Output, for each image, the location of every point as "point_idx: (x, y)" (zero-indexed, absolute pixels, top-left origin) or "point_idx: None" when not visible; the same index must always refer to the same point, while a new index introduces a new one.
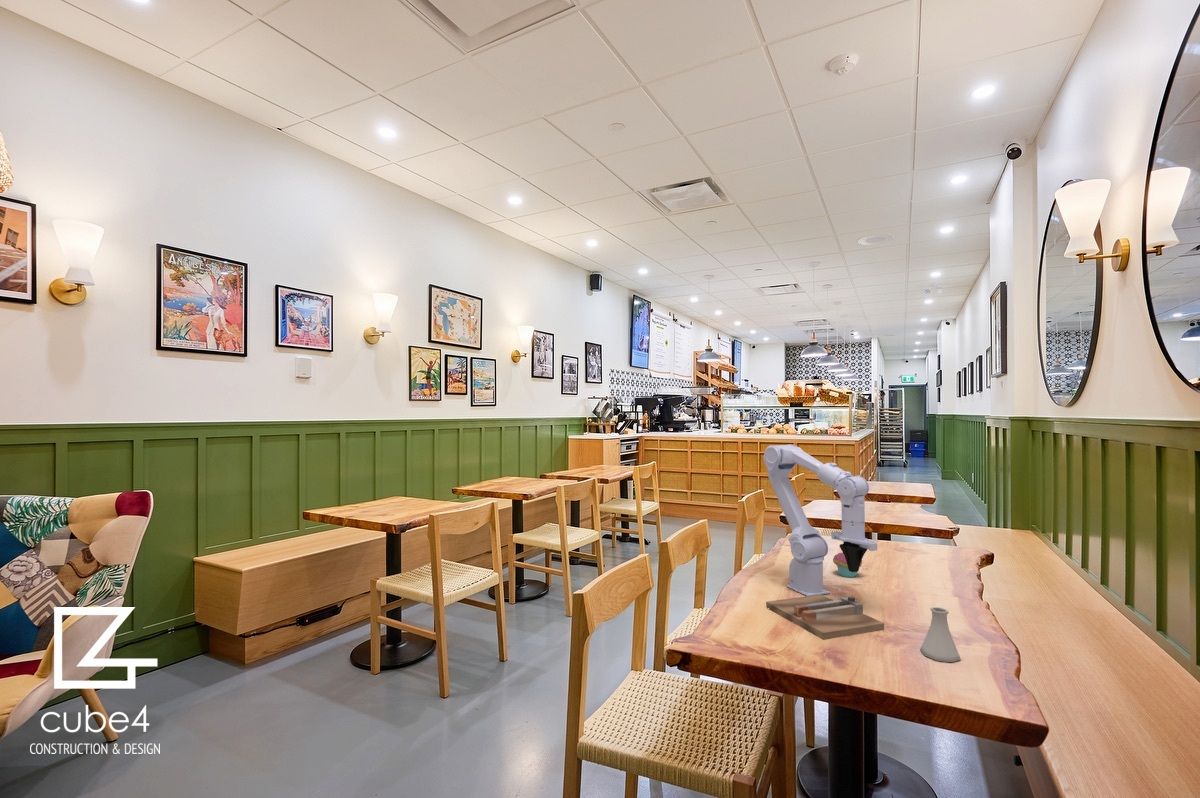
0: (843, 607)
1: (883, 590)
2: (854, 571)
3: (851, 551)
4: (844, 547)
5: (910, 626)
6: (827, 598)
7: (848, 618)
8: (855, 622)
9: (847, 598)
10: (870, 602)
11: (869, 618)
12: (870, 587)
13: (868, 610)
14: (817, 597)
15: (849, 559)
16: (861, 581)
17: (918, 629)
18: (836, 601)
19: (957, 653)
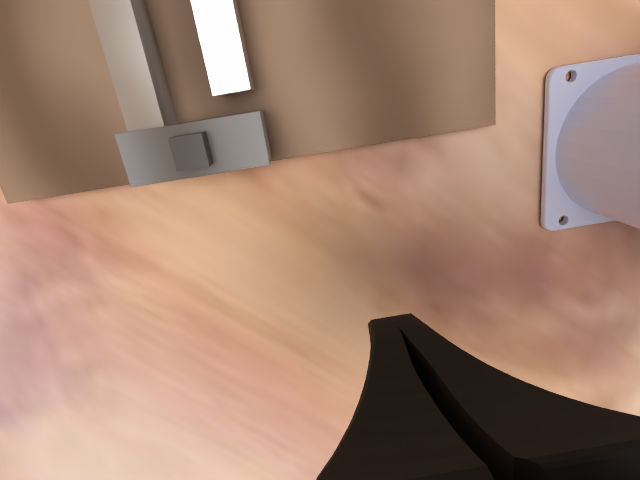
0: (108, 30)
1: None
2: (370, 341)
3: (346, 462)
4: (518, 453)
5: (72, 333)
6: (422, 123)
7: (78, 38)
8: (8, 39)
9: (244, 152)
10: None
11: (79, 168)
12: None
13: (285, 275)
14: (454, 68)
15: (409, 373)
16: None
17: (37, 344)
18: (217, 47)
19: None
